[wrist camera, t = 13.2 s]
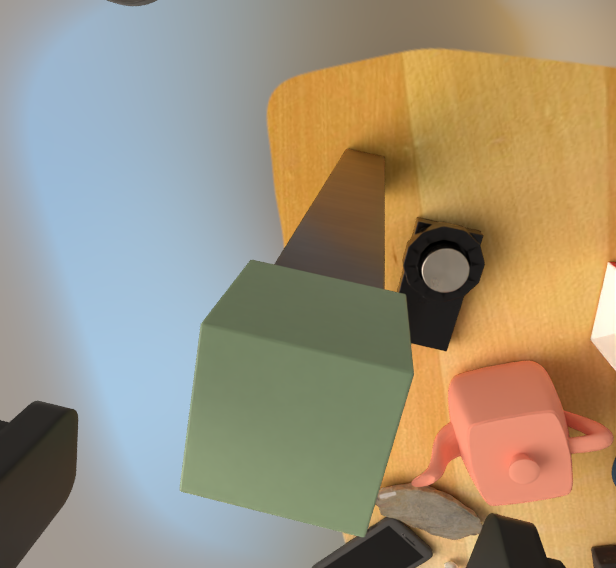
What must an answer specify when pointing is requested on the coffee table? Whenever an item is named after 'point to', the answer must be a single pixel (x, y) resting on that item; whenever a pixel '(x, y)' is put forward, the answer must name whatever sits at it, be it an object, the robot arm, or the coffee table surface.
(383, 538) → the cell phone
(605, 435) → the teapot
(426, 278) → the knob
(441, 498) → the stone
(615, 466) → the soda can
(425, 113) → the coffee table surface
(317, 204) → the post
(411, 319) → the control block
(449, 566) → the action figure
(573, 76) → the coffee table surface
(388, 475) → the coffee table surface
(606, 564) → the sculpture
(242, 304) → the block
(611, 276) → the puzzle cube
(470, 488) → the coffee table surface
